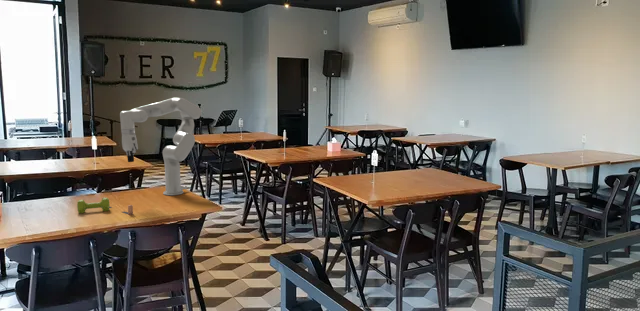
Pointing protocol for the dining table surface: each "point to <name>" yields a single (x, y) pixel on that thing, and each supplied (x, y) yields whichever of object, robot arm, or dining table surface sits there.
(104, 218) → the dining table surface
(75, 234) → the dining table surface
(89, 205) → the dumbbell
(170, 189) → the robot arm
